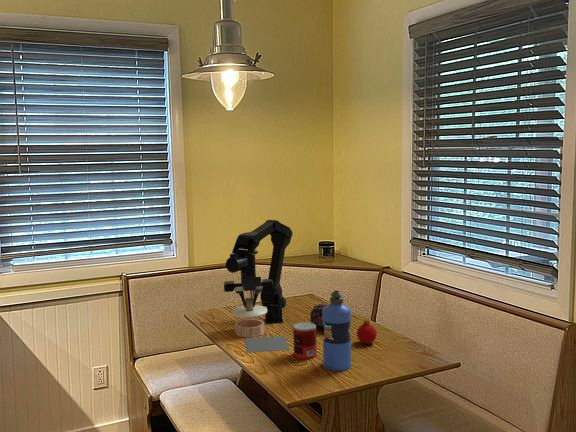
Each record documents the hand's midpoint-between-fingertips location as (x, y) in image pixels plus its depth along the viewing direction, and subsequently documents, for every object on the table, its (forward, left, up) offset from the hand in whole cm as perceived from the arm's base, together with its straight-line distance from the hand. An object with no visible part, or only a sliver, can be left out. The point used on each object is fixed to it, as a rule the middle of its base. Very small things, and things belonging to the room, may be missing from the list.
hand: (249, 307), depth 226 cm
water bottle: (-26, +38, -11) cm, 47 cm away
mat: (-5, +14, -10) cm, 18 cm away
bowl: (0, 0, -10) cm, 10 cm away
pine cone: (-29, 0, -11) cm, 31 cm away
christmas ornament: (-41, +19, -11) cm, 46 cm away
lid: (0, 0, -2) cm, 2 cm away
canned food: (-17, +28, -11) cm, 34 cm away
